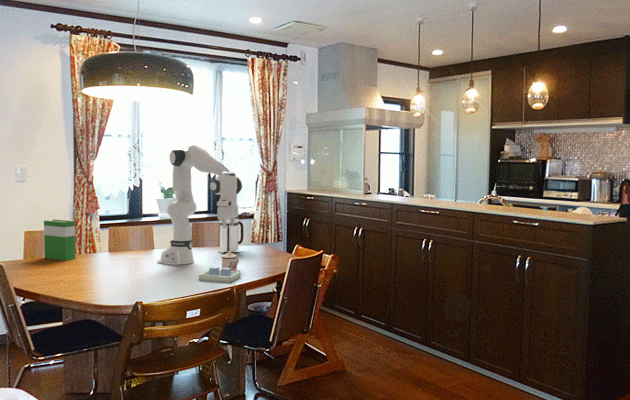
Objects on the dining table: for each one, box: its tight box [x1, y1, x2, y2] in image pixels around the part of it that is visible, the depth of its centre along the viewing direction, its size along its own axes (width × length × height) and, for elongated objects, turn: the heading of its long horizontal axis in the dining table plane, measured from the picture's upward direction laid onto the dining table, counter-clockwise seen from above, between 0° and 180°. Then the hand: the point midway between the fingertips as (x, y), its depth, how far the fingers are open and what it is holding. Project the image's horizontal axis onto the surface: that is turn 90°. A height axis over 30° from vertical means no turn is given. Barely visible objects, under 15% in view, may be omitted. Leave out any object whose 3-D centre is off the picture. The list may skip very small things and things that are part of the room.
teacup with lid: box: [221, 251, 240, 272], centre depth 318 cm, size 12×9×12 cm
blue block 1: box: [208, 266, 220, 276], centre depth 299 cm, size 4×4×5 cm
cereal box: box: [43, 219, 76, 262], centre depth 344 cm, size 18×7×24 cm, turn 68°
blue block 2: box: [220, 267, 231, 277], centre depth 298 cm, size 4×4×5 cm
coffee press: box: [217, 216, 244, 254], centre depth 376 cm, size 17×16×30 cm
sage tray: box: [198, 269, 241, 284], centre depth 299 cm, size 18×14×3 cm
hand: (228, 227), depth 298 cm, fingers open, 8 cm apart
